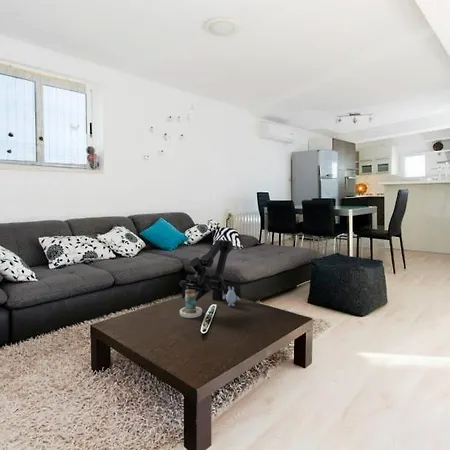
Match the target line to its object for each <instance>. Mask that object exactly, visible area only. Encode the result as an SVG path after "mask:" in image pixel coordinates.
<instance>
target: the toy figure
mask: <svg viewBox="0 0 450 450" xmlns="http://www.w3.org/2000/svg"><path fill="white" fill-rule="evenodd" d="M227 289H228V291H227V293H226V294H224V296H223V300H225V299H226V302H227V303H228V305H227V306H229V307H230V306H232V307H235V303H236V301H240V300H241V299H240V297H239V296H238V295H236V292H235V287H234V286H232V287H231V286H230V285H229V286H228V287H227Z"/></svg>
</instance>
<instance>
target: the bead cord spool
mask: <svg viewBox="0 0 450 450" xmlns="http://www.w3.org/2000/svg"><path fill="white" fill-rule="evenodd" d="M196 292H197V290H196V288H189V289H187V290H185V293H186V296H185V297H184V299H185V307H186V311H185V313H186V314H193V313H197V311H196V307H197V301H195V300H196V297H197V294H196Z"/></svg>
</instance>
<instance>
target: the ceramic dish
mask: <svg viewBox="0 0 450 450" xmlns="http://www.w3.org/2000/svg"><path fill="white" fill-rule="evenodd" d="M185 311H186V306H185V307H183V308H180V309H179V316H180V317H182V318H185V319H194V318H198V317H201V316H202V315H203V309H202V307H199V306H196V311H197V313H193V314H186V313H185Z"/></svg>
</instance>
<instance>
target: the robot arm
mask: <svg viewBox="0 0 450 450" xmlns="http://www.w3.org/2000/svg"><path fill="white" fill-rule="evenodd" d="M233 246H234V245H233V242H232V241H231V240H224V239H222V240H221V239H217V240H215V241H214V243H213V245H211V247H210V249H209V251H208V252H207V253H206V254H204V255H202V256H201V257H200V258H199V257H197V256H195V258H193V259H191V260H190V261H189V266H190V267H191V268H192V269H193V271H194V273H195V274H187V276H186V280H182V279H181V280H180V282H179V285H180V288H182V294H181V298H182V299H183V300H184V299H185V296H186V293H185V290H187V289H198V292H197V294H196V300H195V301H196V302H198V301H199V300H200V299H201V298H202V297H203V296H205V295H207V294H210V293H211V290H212V296H211V297H212V300H213V301H224V299H223V296H225V294H224V291H226V289H227V285H226V284H225V279H224V276H223V275H224V271H225V267H226V262H227V257H228V255H229V254H230V252H231V251H232V248H233ZM218 253H219V257H218V260H217V266H216V269H215V273H214V274H213V275H212V274H211V276H210V279H209V284H207V283H204V282H205V276H206V275H207V274H209V270H208V268H211V267H212V266H213V264H214V259H215V257H216V256H217V254H218Z"/></svg>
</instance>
